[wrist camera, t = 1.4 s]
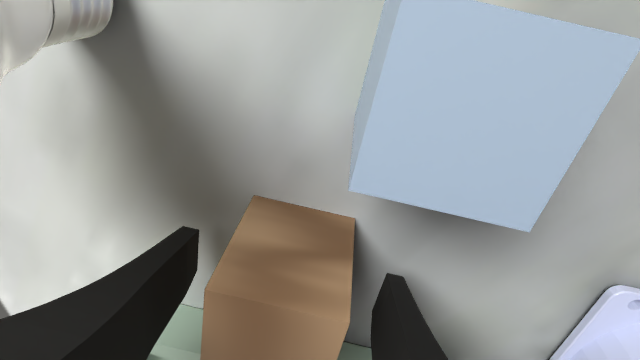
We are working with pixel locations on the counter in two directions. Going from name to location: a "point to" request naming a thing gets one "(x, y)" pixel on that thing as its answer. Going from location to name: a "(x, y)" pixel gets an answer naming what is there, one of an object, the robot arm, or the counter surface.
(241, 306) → the walnut block
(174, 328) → the tray
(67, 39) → the lightbulb
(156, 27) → the counter surface
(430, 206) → the bluegrey block
